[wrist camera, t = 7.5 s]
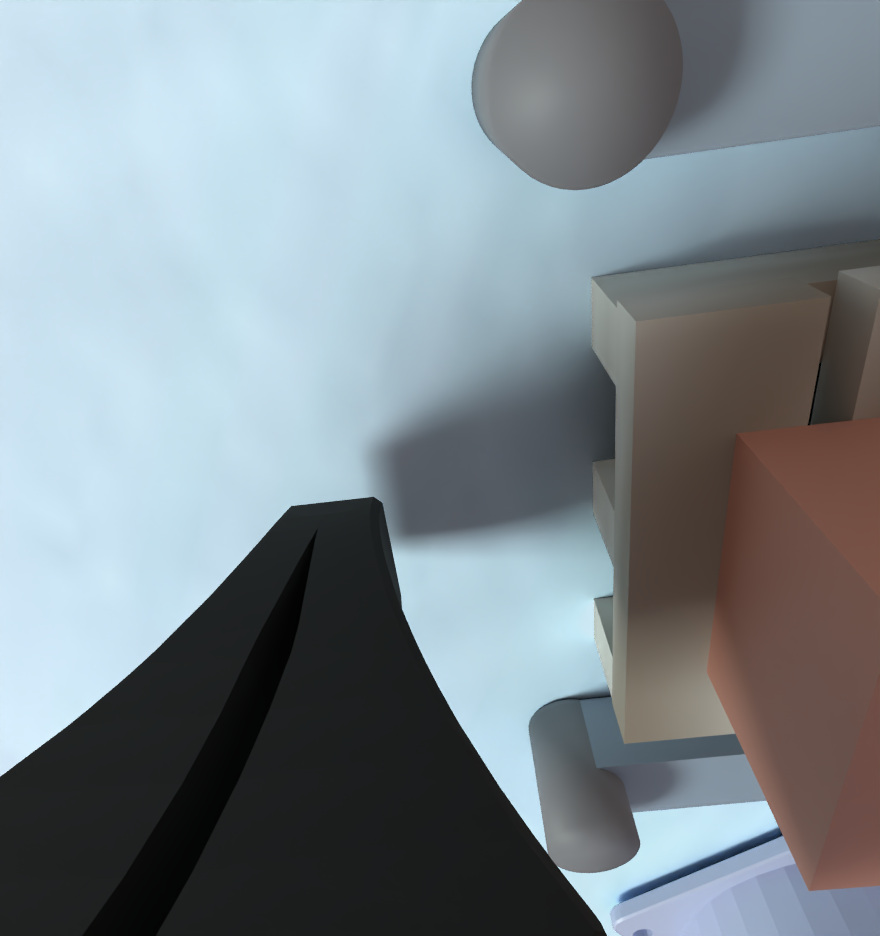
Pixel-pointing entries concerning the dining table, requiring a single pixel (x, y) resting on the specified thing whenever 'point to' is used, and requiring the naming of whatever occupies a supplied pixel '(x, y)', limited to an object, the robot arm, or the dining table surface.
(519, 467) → the dining table surface
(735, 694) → the salmon pink block
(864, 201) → the dining table surface
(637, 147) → the dock
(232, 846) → the robot arm
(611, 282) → the pallet
